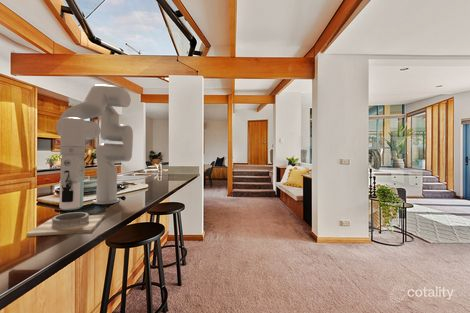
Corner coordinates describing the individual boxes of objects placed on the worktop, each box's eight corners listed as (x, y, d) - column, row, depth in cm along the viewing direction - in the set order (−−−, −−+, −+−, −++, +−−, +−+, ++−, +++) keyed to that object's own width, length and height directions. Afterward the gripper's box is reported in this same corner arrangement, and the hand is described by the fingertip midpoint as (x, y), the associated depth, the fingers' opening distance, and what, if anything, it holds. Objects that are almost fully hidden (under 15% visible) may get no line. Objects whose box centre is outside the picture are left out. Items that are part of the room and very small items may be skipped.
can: (54, 210, 79) (55, 176, 78) (69, 205, 86) (70, 174, 86) (73, 211, 78) (74, 177, 78) (87, 206, 86) (88, 175, 85)
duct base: (53, 219, 88) (53, 210, 88) (104, 217, 94) (104, 209, 93) (26, 236, 71) (26, 225, 71) (91, 232, 76) (91, 222, 76)
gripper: (76, 152, 75) (74, 204, 75) (92, 151, 91) (90, 195, 91) (49, 151, 72) (47, 205, 73) (70, 151, 89) (69, 195, 89)
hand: (71, 199), depth 82 cm, fingers closed on can, 7 cm apart
